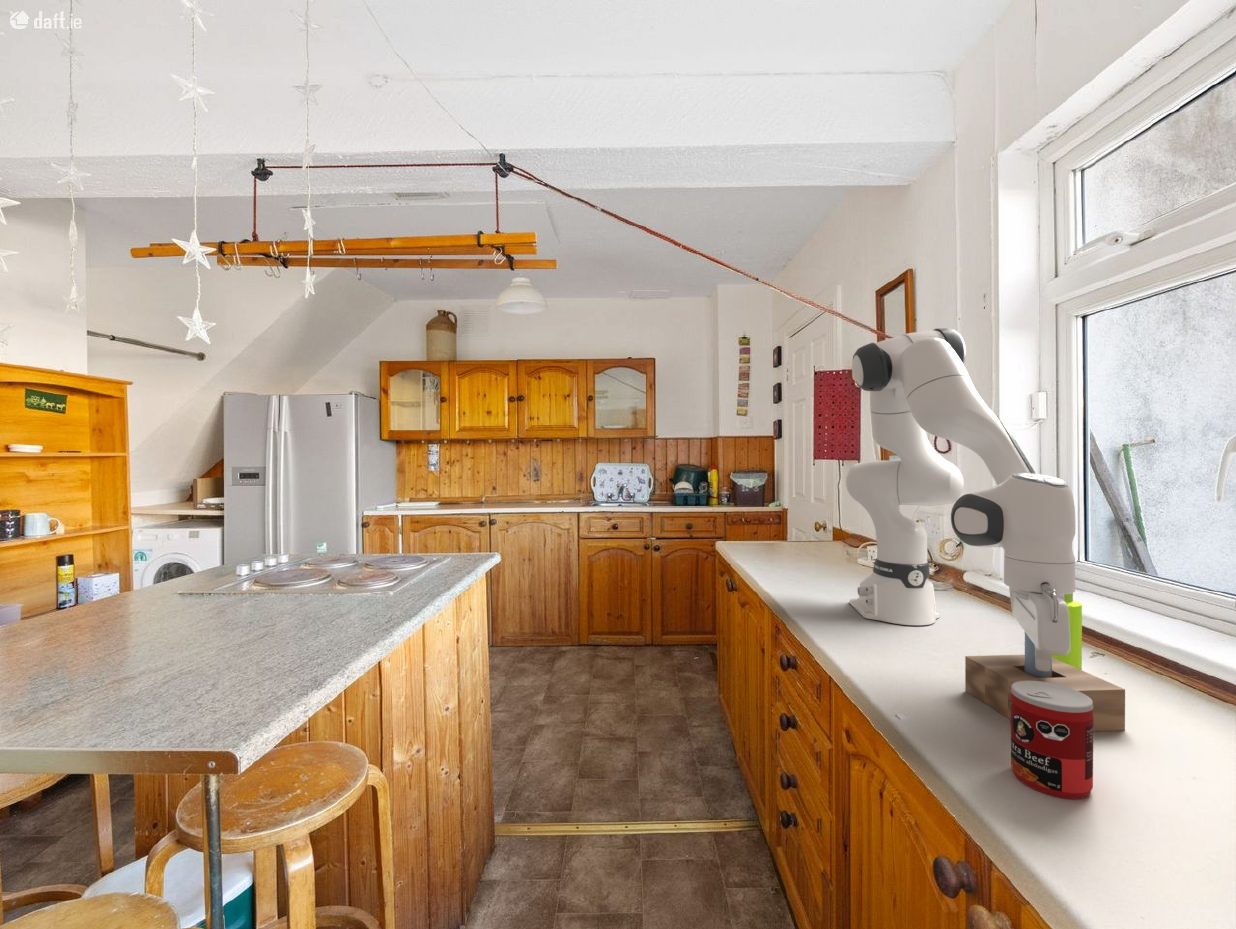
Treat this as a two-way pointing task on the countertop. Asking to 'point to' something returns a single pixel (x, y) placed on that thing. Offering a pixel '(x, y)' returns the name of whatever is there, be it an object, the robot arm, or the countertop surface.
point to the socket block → (999, 672)
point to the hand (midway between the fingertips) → (1038, 664)
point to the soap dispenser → (1073, 634)
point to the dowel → (1030, 661)
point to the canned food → (1052, 738)
